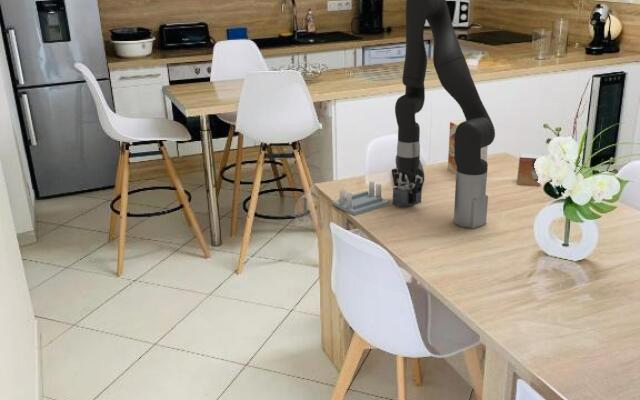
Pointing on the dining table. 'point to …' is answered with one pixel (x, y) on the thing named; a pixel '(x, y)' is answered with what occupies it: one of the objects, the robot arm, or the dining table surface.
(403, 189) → the block
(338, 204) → the pin tray
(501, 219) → the dining table surface
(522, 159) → the small box
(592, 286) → the dining table surface
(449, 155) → the coffeecake box
